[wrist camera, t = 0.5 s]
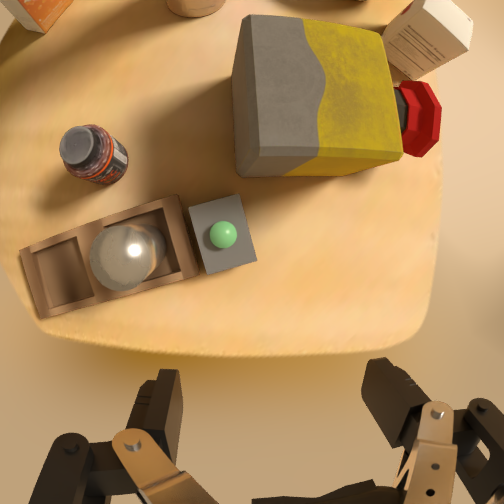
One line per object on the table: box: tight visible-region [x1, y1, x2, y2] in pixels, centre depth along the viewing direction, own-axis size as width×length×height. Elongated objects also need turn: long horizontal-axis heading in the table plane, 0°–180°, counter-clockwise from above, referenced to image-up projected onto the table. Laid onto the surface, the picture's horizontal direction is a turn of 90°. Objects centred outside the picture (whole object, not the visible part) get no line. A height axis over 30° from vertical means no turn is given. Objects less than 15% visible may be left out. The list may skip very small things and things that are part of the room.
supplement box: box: [381, 0, 473, 81], centre depth 32 cm, size 9×9×15 cm
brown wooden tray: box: [19, 194, 200, 319], centre depth 36 cm, size 24×10×2 cm, turn 105°
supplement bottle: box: [59, 125, 128, 185], centre depth 30 cm, size 6×6×11 cm
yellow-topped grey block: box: [231, 14, 442, 178], centre depth 31 cm, size 15×24×15 cm, turn 93°
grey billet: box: [90, 223, 167, 291], centre depth 31 cm, size 6×6×11 cm
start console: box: [188, 194, 257, 275], centre depth 36 cm, size 8×6×5 cm
